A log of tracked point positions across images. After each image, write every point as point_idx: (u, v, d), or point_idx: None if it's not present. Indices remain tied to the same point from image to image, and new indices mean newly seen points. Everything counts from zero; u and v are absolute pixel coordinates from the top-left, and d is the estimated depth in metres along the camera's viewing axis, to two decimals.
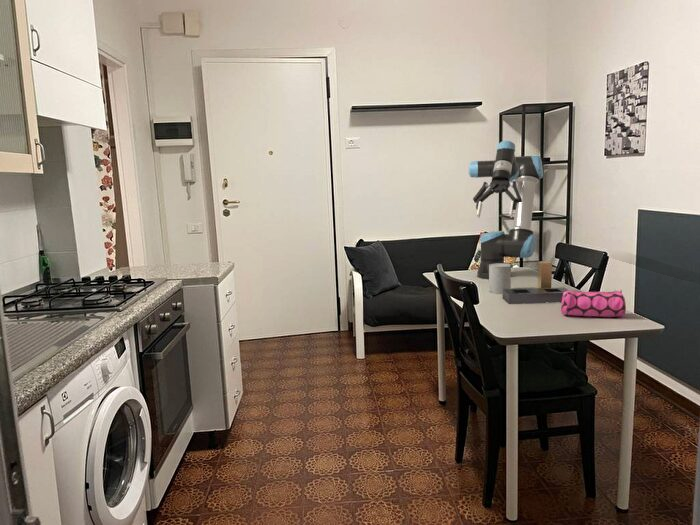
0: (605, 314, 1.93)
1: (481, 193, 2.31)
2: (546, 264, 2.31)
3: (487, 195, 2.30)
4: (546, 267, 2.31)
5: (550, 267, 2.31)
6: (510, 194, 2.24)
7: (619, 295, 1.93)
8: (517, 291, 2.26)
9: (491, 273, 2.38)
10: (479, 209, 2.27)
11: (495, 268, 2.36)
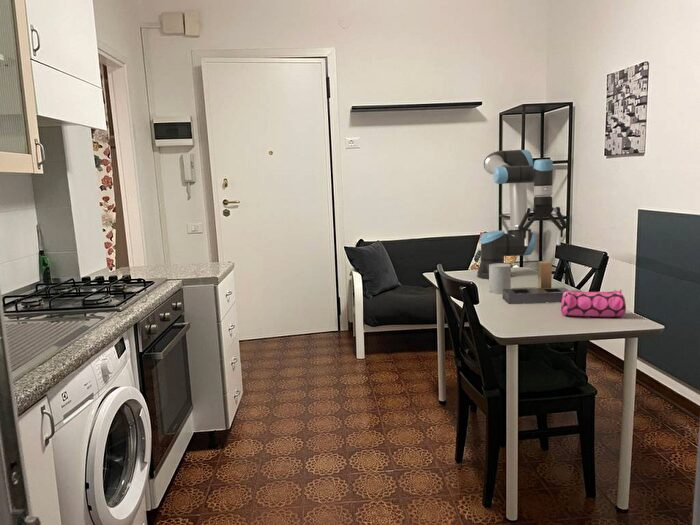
0: (605, 314, 1.93)
1: None
2: (546, 264, 2.31)
3: None
4: (546, 267, 2.31)
5: (550, 267, 2.31)
6: (556, 222, 2.28)
7: (619, 295, 1.93)
8: (517, 291, 2.26)
9: (491, 273, 2.38)
10: (528, 240, 2.30)
11: (495, 268, 2.36)
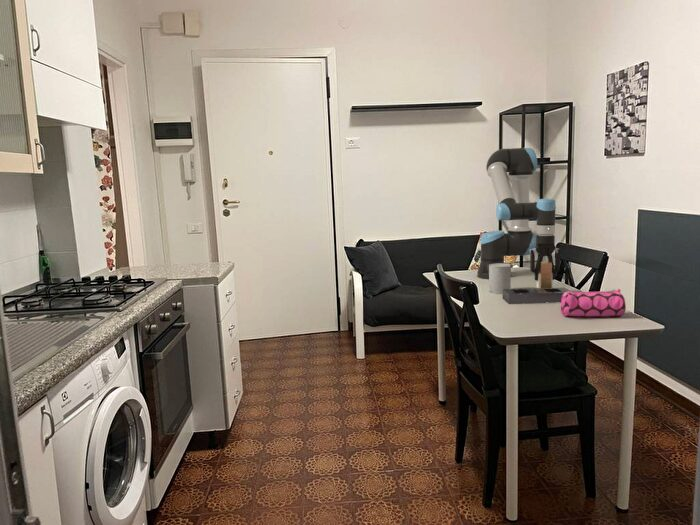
0: (606, 314, 1.93)
1: None
2: (546, 264, 2.31)
3: None
4: (546, 267, 2.31)
5: (550, 267, 2.31)
6: (552, 264, 2.32)
7: (618, 294, 1.94)
8: (517, 291, 2.26)
9: (491, 273, 2.38)
10: None
11: (495, 268, 2.36)
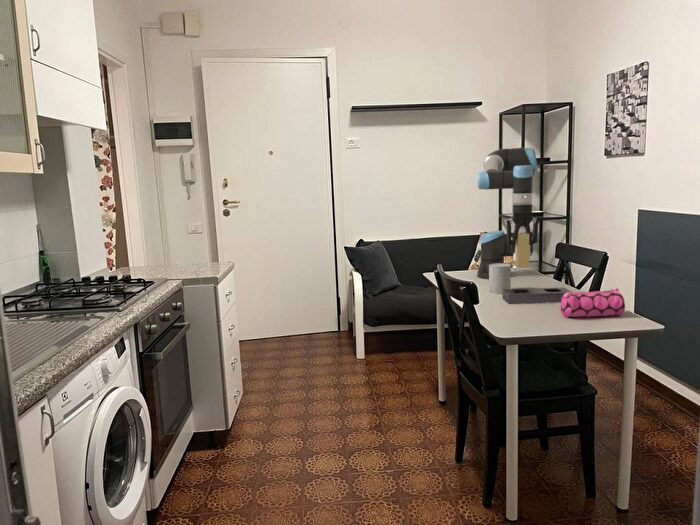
0: (606, 313, 1.94)
1: None
2: (523, 235, 2.17)
3: None
4: (523, 238, 2.17)
5: (527, 238, 2.17)
6: (529, 235, 2.18)
7: (617, 294, 1.95)
8: (517, 291, 2.26)
9: (491, 273, 2.38)
10: None
11: (495, 268, 2.36)
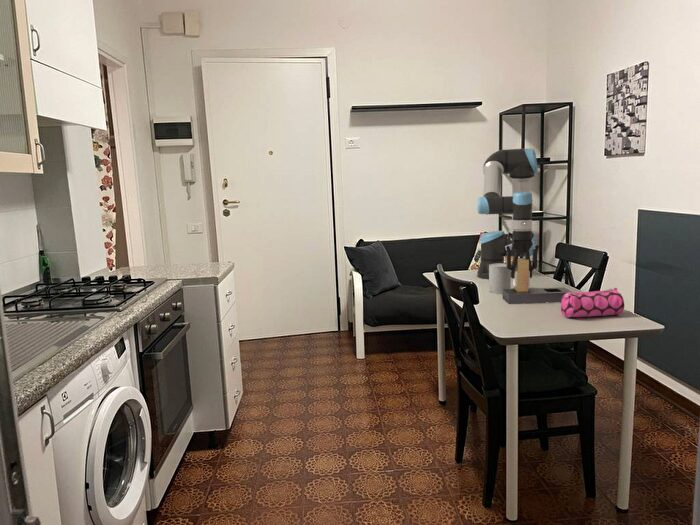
0: (606, 313, 1.94)
1: None
2: (523, 261, 2.19)
3: None
4: (522, 264, 2.19)
5: (527, 264, 2.19)
6: (529, 261, 2.20)
7: (616, 293, 1.96)
8: None
9: (491, 273, 2.38)
10: (516, 280, 2.21)
11: (495, 268, 2.36)
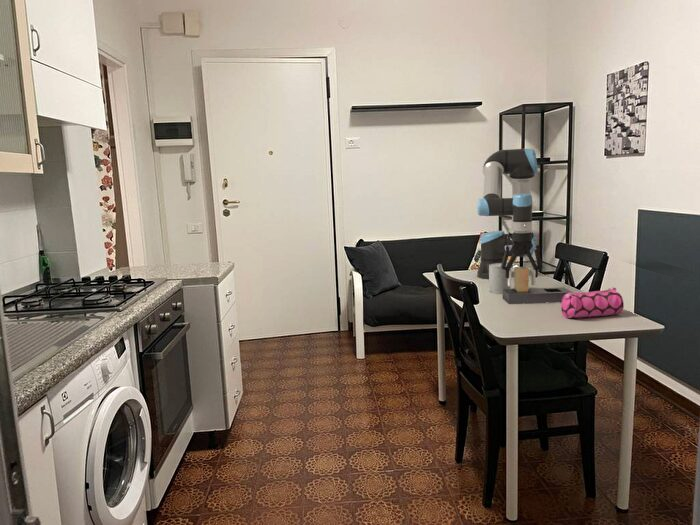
0: (606, 313, 1.94)
1: None
2: (523, 270, 2.19)
3: None
4: (522, 273, 2.20)
5: (527, 273, 2.20)
6: (533, 261, 2.20)
7: (615, 293, 1.96)
8: None
9: (491, 273, 2.38)
10: None
11: (495, 268, 2.36)
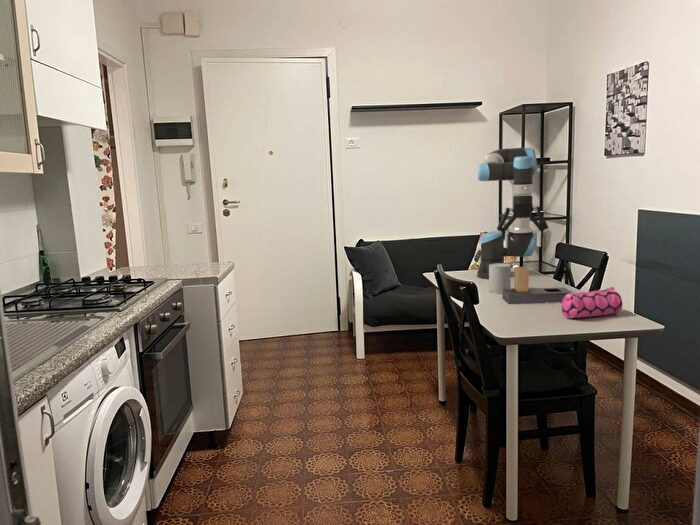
0: (606, 312, 1.95)
1: None
2: (523, 270, 2.19)
3: None
4: (522, 273, 2.20)
5: (527, 273, 2.20)
6: (537, 223, 2.17)
7: (614, 292, 1.97)
8: None
9: (491, 273, 2.38)
10: (507, 241, 2.19)
11: (495, 268, 2.36)
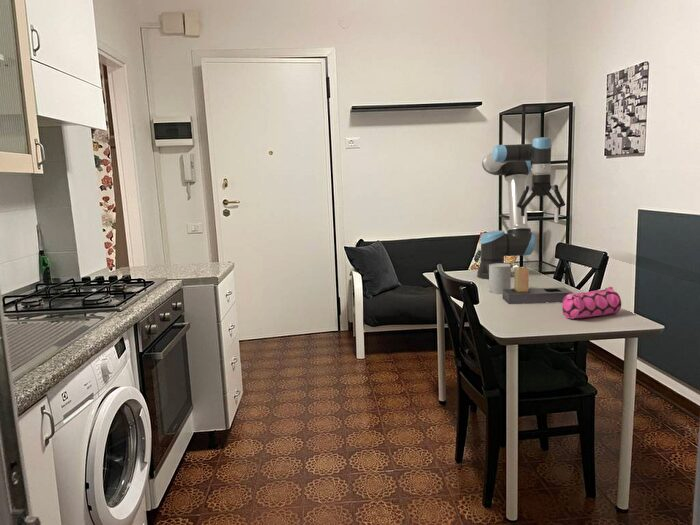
0: (606, 312, 1.95)
1: None
2: (523, 270, 2.19)
3: None
4: (522, 273, 2.20)
5: (527, 273, 2.20)
6: (554, 200, 2.31)
7: (613, 292, 1.98)
8: None
9: (491, 273, 2.38)
10: None
11: (495, 268, 2.36)
